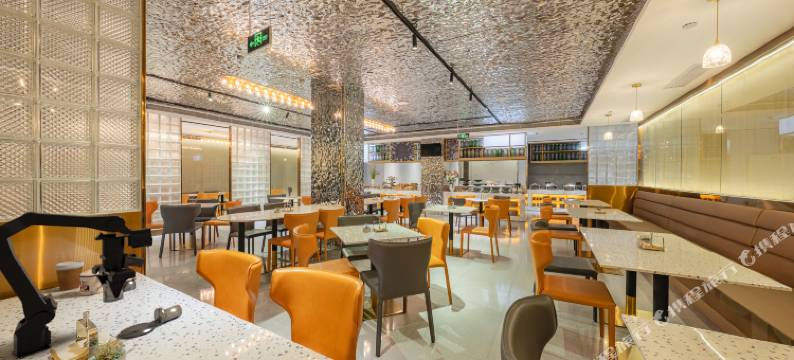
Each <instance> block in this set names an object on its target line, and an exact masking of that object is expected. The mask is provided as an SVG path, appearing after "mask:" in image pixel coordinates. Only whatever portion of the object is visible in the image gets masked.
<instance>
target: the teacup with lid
mask: <svg viewBox="0 0 794 360" xmlns="http://www.w3.org/2000/svg"><path fill="white" fill-rule="evenodd" d="M93 266H94V265H93ZM93 266H90V268H89V269H87V270H85V271H82V273H81V274H80V275H79V277H80V287H79V295H80V296H93V295H96V294H100V293H103V286H102V285H101V283H100V282H99V280H98V279H97V278H96V275H99V272H97V274H92V267H93Z"/></svg>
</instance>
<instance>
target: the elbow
mask: <svg viewBox="0 0 794 360" xmlns="http://www.w3.org/2000/svg"><path fill="white" fill-rule="evenodd" d="M136 281H137V277H134V278H130V279H128V280H127V281H125V283H124V285H123V288H122V290H121V293H120V296H119V297H118V298H114V296H113V294H112V292H111V290H110V288H109V286H108V284H107V282H106V283H104V284H103V292H102V302H103V303H105V304H107V303H108V304H110V303H114V302H118V301H121V300H123V299H124V298H125V297H124V296H125V295H124V294H125V293H127V292H130V291H135V290H136V288H137V282H136Z"/></svg>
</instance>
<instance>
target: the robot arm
mask: <svg viewBox="0 0 794 360" xmlns="http://www.w3.org/2000/svg"><path fill="white" fill-rule="evenodd" d="M32 226H39V227H40V226H41V227H42V226H45V227H61V228H63V227H65V228H66V227H67V228H81V229H82V228H85V229H90V230H95V231H100V232H99V233H98V234H97V235H96V236H94V241H101V254H99V258H100V259H101V263H100V264H99V263H97V264H95V265H93V267H92V266H91V267H92V274H97V272H99V275H96V278H97V279H98V280H99V282H100V283H101V285H102V286H103V284H104V283H106V282H107V284H108V286H109V288H110V290H111V292H112V294H113V296H114V298H118V297H119V296H120V293H121V290H122V288H123V285H124V283H125V281H127V280H131V279H132V278H134V277H135V278H137V271H136V270H135V269H133V268H130V267H137V268H143V266H144V264H145V262H146V258H144V257H140V256H137V253H133V252H130V253H127V252H125V251H126V250H125V246H126V247H127V248H128V247H130V249H131V250H133V249H140V248H149V247H152V246H153V237H152V229H151V228H150V227H146V228H140V229H132V228H130V227H129V226H127V225H126V221H125V219H124V218H123V217H122V216H121V215H119V214H114V213H113V214H111V213H110V214H97V215H80V214H79V215H78V214H65V213H49V212H37V211H26V212H24V213H23V214H22V215H20V216H18V217H15V218H14V219H12V220H10V221H7V222H4V224H1V225H0V273H1V275H3V277H4V279H5V280H6V281H7V283H8V285H9V286H10V287H11V289H12V290H13V292H14V294H15V296H16V297H17V298H18V300H19V301H20V303H21V304H20V305H21V309H22V312H23V318H22V319H20V320H19V321H18V322H17V324H16V327H15V330H14V333H13V350H12V351H10V353H11V355H13V356H14V357H15V358H16V359H18V358H19V359H22V358H21V357H23V358H25V357H27V355H28V356H31V355H34V354H38V353H40V352H42V351H45V350H48V349H51V348H52V345H51V344H52V330H51V329H50V328H49V326H48V325H49V324H50V323H51V322H52V321H53V320H54V319H55V318H56V313H57V312H56V311H57V310H58V305H59V302H57V301H56V300H55V299H54V297H53V294H52V292H51V293H47V294H46V295H44V294H43V293H42V292H41V291H40V290H39V289H38V287H37V285H36V284H35V282H34V281H33V280H32V278H31V276H30V275H29V273H28V272H27V270H26V268H25V266H24V265H23V264H22V262H21V261H20V259H19V257H18V256H17V255H16V252H15V250H14V249H15V248H14V243H13V239H12V237H13V236H15V235H16V234H19V233H20V232H22V231H24V230H26V229H28V228H29V227H32ZM103 232H107V233H103ZM117 233H119V234H117ZM125 240H126V242H125ZM125 244H126V245H125ZM30 354H31V355H30ZM24 356H25V357H24Z"/></svg>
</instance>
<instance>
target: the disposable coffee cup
mask: <svg viewBox="0 0 794 360" xmlns="http://www.w3.org/2000/svg"><path fill="white" fill-rule="evenodd" d="M84 265H85V262H84V261H83V260H70V261H63V262H60V263H57V264H56V265H55V266H54V269H55V272H56V277H57V283H58V288H59V291H61V292H62V291H63V292H65V291H72V290H76V289H80V277H79V275H80V274H81V273H83V269H84Z"/></svg>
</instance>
